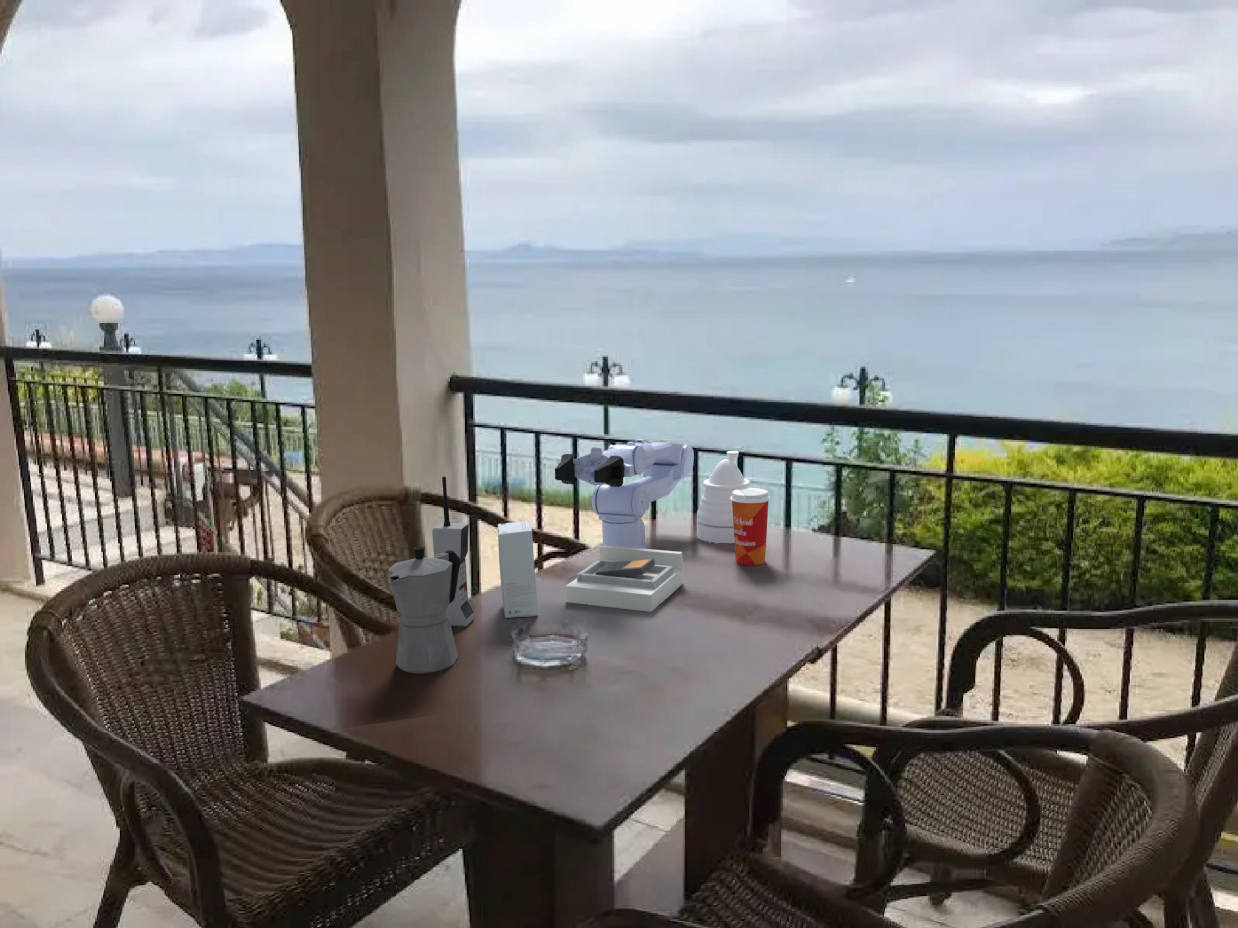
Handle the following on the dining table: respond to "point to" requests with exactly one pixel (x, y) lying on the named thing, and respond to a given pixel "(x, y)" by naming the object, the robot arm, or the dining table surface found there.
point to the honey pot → (720, 501)
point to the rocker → (626, 568)
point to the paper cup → (750, 525)
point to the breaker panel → (628, 580)
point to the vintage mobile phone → (457, 540)
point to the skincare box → (517, 569)
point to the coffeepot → (425, 610)
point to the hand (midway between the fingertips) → (576, 475)
